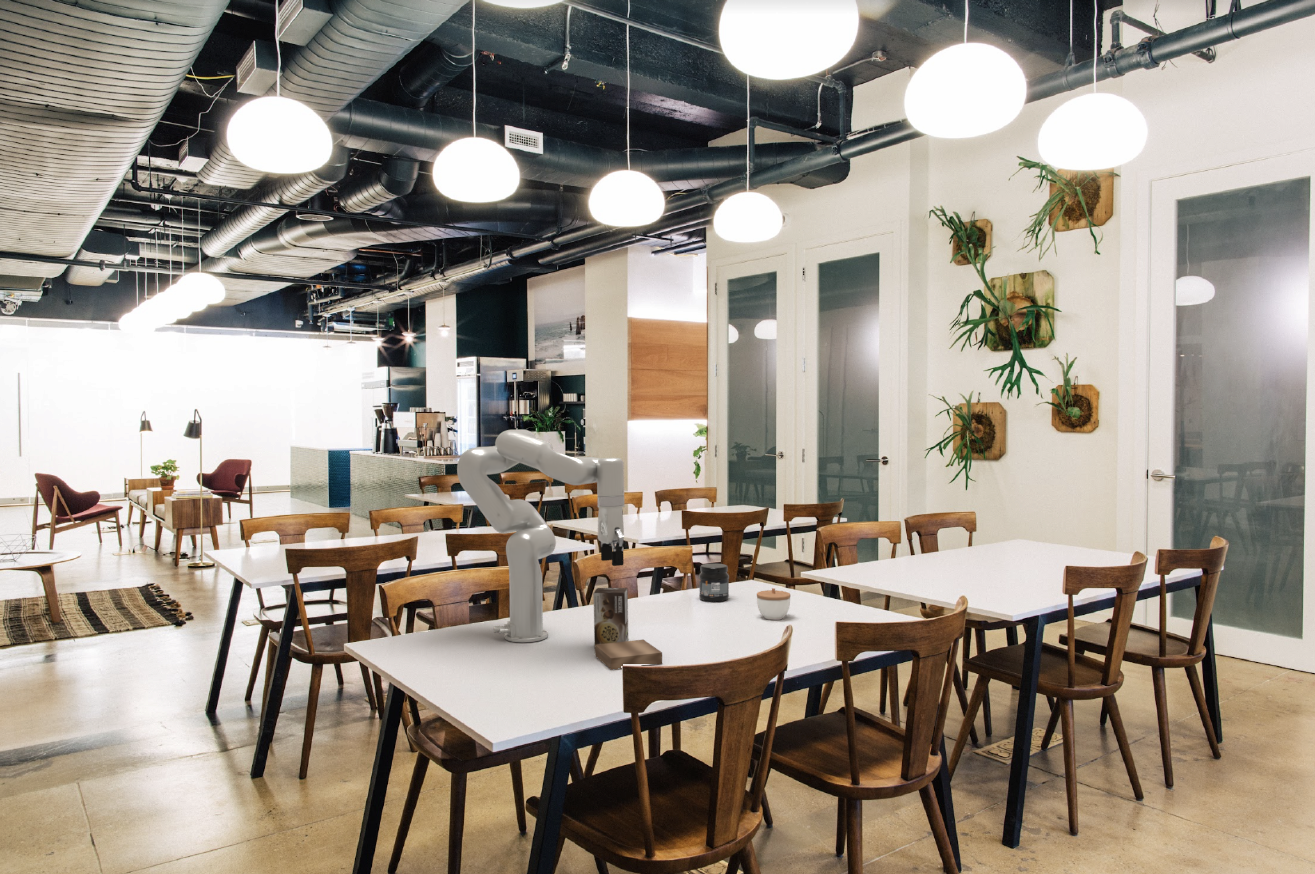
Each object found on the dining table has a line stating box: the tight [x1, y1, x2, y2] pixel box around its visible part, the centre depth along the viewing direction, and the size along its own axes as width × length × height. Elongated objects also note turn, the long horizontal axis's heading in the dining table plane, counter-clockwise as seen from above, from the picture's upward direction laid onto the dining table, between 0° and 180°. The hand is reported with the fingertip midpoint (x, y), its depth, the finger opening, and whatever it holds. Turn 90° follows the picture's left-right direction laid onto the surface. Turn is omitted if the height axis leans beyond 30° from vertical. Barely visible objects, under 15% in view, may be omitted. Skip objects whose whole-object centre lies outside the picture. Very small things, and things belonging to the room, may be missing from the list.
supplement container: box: [698, 563, 730, 603], centre depth 298 cm, size 10×10×12 cm
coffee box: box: [592, 587, 630, 650], centre depth 237 cm, size 9×6×16 cm
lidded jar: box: [756, 587, 791, 621], centre depth 270 cm, size 11×11×9 cm
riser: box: [594, 639, 663, 671], centre depth 224 cm, size 14×14×3 cm
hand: (612, 562), depth 236 cm, fingers open, 9 cm apart
